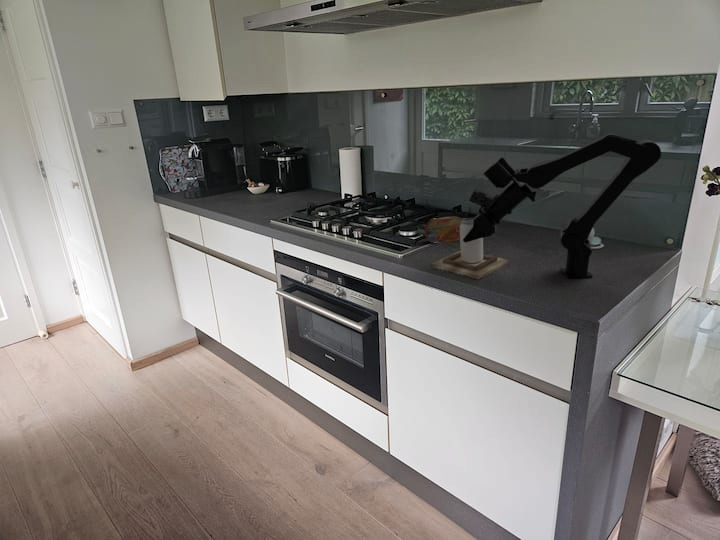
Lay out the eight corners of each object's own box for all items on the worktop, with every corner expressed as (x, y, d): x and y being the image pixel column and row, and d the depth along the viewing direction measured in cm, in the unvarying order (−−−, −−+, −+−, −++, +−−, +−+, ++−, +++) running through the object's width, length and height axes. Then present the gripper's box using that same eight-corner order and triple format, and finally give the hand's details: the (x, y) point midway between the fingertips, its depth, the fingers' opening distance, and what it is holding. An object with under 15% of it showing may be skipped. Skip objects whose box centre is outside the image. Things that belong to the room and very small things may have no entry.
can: (487, 260, 143) (487, 221, 138) (469, 265, 141) (468, 226, 136) (474, 253, 149) (473, 216, 144) (456, 259, 147) (455, 220, 142)
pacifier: (607, 246, 156) (589, 242, 160) (611, 228, 153) (592, 223, 158) (594, 251, 152) (577, 246, 156) (598, 232, 149) (580, 228, 154)
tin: (426, 245, 164) (426, 220, 162) (423, 242, 167) (423, 218, 164) (467, 239, 168) (468, 216, 165) (463, 237, 171) (464, 214, 168)
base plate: (508, 264, 144) (508, 256, 143) (479, 279, 134) (479, 272, 133) (462, 253, 155) (462, 246, 154) (431, 267, 144) (431, 260, 144)
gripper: (491, 173, 142) (452, 209, 150) (484, 185, 126) (440, 225, 133) (517, 200, 142) (477, 235, 150) (514, 216, 126) (469, 254, 133)
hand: (466, 236), depth 142 cm, fingers open, 9 cm apart
